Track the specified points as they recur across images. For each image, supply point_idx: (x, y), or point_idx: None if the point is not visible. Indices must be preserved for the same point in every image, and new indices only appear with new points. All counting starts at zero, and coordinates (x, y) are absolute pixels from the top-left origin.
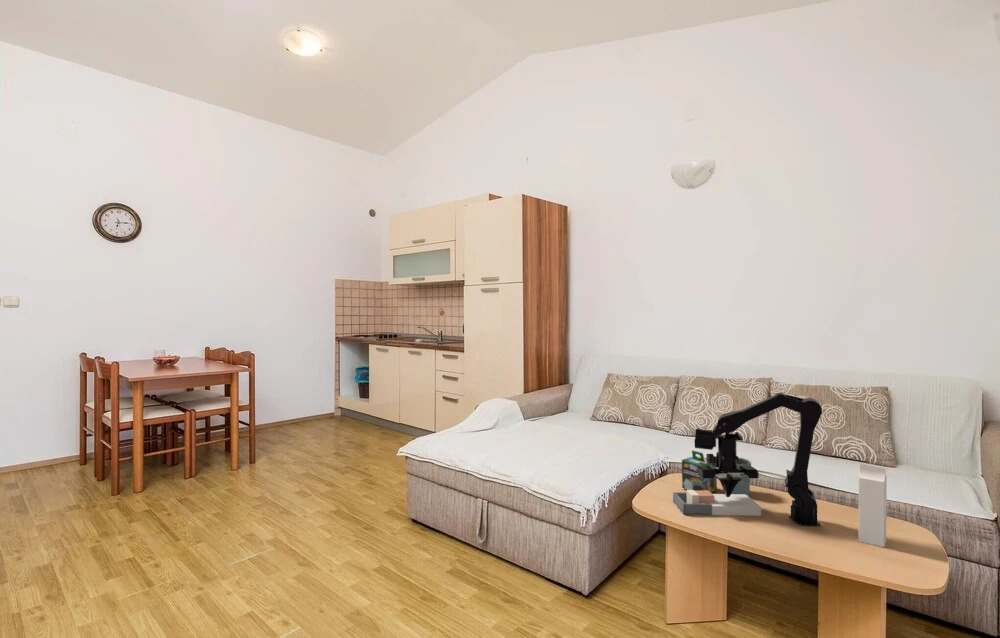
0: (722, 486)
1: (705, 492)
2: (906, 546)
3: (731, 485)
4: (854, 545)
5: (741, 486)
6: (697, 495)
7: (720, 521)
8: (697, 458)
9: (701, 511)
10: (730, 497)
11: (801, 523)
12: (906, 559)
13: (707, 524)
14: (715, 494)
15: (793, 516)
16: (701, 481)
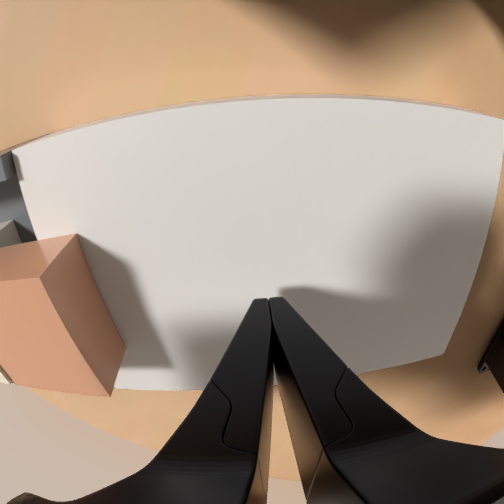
0: (212, 382)
1: (30, 332)
2: None
3: (302, 485)
4: (478, 417)
5: None
6: (3, 381)
7: (161, 394)
8: None
9: None
10: (332, 209)
11: (486, 366)
12: (495, 425)
13: (106, 409)
14: (174, 126)
15: (494, 364)
16: None
